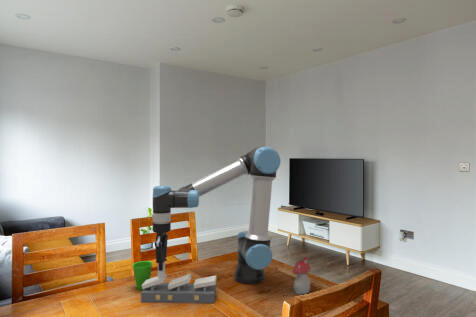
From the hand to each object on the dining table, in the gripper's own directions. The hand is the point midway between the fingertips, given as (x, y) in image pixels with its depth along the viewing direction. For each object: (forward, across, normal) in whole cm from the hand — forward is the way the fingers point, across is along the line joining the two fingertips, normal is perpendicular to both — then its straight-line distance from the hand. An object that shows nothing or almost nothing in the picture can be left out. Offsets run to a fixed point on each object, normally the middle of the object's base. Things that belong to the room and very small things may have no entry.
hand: (161, 277), depth 134 cm
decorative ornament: (+9, -7, +61) cm, 62 cm away
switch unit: (+9, 0, +8) cm, 12 cm away
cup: (+9, -9, -11) cm, 17 cm away
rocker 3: (+2, 0, +19) cm, 19 cm away
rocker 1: (+2, 0, -3) cm, 4 cm away
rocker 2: (+2, 0, +8) cm, 8 cm away
